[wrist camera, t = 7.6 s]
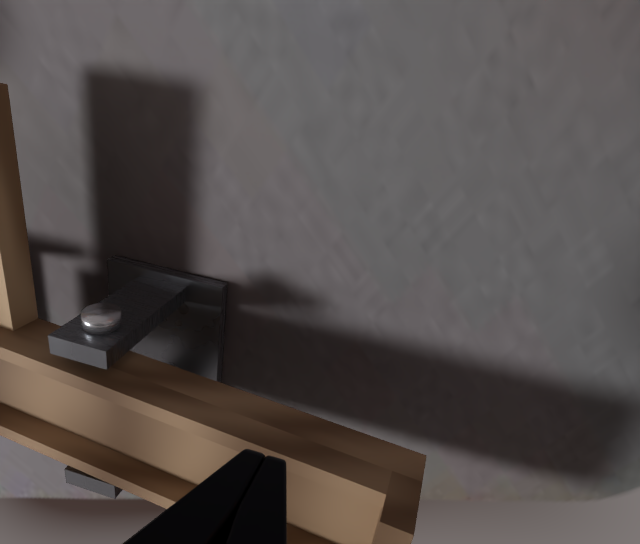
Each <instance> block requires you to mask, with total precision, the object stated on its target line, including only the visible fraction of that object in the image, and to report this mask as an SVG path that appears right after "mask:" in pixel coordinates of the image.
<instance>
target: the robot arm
mask: <svg viewBox="0 0 640 544" xmlns="http://www.w3.org/2000/svg"><path fill="white" fill-rule="evenodd" d="M123 544H287V475H286V461H285V460H283V459H280V458H277V457H274V456H270V455H268V456H266V457H265V455H264V454H263V453H260V452H257V451H254V450H250V449H244V450H243V451H241V452H240V453H239V454H237V455H236V456H235V457H233V458H232V459H231V460H230V461H228V462H227V463H226V464H224V465H223V466H222V467H221V468H219V469H218V470H217V471H215V472H214V473H213V474H212V475H210V476H209V477H208V478H206V479H205V480H204V481H203V482H201V483H200V484H199V485H197V486H196V487H195V488H194V489H192V490H191V491H190V492H188V493H187V494H186V495H185V496H183V497H182V498H181V499H179V500H178V501H177V502H176V503H174V504H173V505H172V506H170V507H169V508H168V509H167V510H165V511H164V512H163V513H161V514H160V515H159V516H158V517H157V518H155V519H154V520H153V521H151V522H150V523H149V524H147V525H146V526H145V527H143V528H142V529H141V530H140V531H138V532H137V533H136V534H134V535H133V536H132V537H131V538H129V539H128V540H127V541H126V542H124V543H123Z"/></svg>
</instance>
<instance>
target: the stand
mask: <svg viewBox="0 0 640 544" xmlns="http://www.w3.org/2000/svg"><path fill="white" fill-rule="evenodd" d="M107 267H108V285H109V296H108V297H106V298H105V299H103V300H102V301H100V302H99V303H96V304H92V305H89V306H87V307H85V308H84V309H83V310H82V311H81V314H80V315H79V316H77V317H75V318H74V319H72V320H71V321H69V322H68V323H66V324H65V325H63V326H62V327H60V328H58V329H57V330H55V331H54V332H52V333H51V334H49V335H48V341H49V349H50V354H54V355H57V356H61V357H64V358H68V359H71V360H75V361H78V362H82V363H85V364H89V365H92V366H95V367H99V368H102V369H106V370H107V369H109V368H110V367H111V366H112V365H113V364H114V363H116V362H117V361H118V360H119V359H120V358H121V357H122V356H124V355H125V354H126V353H127V352H128V351H129V350H130V351H132V352H135V353H138V354H141V355H144V356H147V357H149V358H152V359H155V360H158V361H161V362H163V363H166V364H169V365H172V366H175V367H178V368H180V369H183V370H186V371H189V372H192V373H195V374H197V375H200V376H203V377H206V378H209V379H212V380H214V381H217V382H220V383H221V375H222V359H223V344H224V328H225V313H226V298H227V283H226V282H222V281H218V280H214V279H210V278H206V277H202V276H198V275H193V274H189V273H185V272H181V271H177V270H173V269H169V268H165V267H161V266H157V265H152V264H148V263H144V262H140V261H136V260H132V259H128V258H124V257H120V256H113V257H111V258H109V259H107ZM65 477H66V483H69V484H72V485H75V486H78V487H81V488H84V489H87V490H90V491H93V492H96V493H99V494H102V495H105V496H108V497H111V498H114V499H116V497H117V496H118V495H119V493H120V492H121V491H122V490H123V489H121V488H118V487H116V486H114V485H112V484H109V483H107V482H105V481H103V480H100V479H98V478H96V477H94V476H91V475H89V474H87V473H85V472H82V471H80V470H78V469H76V468H73V467H71V466H69V465H68V466H67V467H66V468H65Z"/></svg>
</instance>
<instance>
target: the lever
mask: <svg viewBox="0 0 640 544" xmlns="http://www.w3.org/2000/svg"><path fill="white" fill-rule="evenodd" d="M60 327H62V326H59V325H56V324H53V323H50V322H48V321H45V320H42V319H39V318H38V312H37V305H36V297H35V289H34V282H33V274H32V267H31V259H30V252H29V244H28V236H27V229H26V221H25V214H24V206H23V198H22V191H21V183H20V176H19V168H18V161H17V153H16V145H15V138H14V130H13V123H12V115H11V108H10V100H9V92H8V85H7V84H3V83H0V435H1V436H3V437H5V438H8V439H10V440H12V441H14V442H17V443H19V444H21V445H24V446H26V447H28V448H30V449H33V450H35V451H37V452H39V453H42V454H44V455H46V456H48V457H51V458H53V459H55V460H57V461H60V462H62V463H64V464H66V465H69V466H71V467H73V468H76V469H78V470H80V471H82V472H85V473H87V474H89V475H91V476H94V477H96V478H98V479H100V480H103V481H105V482H107V483H109V484H112V485H114V486H116V487H118V488H121V489H123V490H125V491H127V492H130V493H132V494H134V495H137V496H139V497H141V498H143V499H146V500H148V501H150V502H153V503H155V504H157V505H159V506H161V507H164V508H166V509H168V508H169V507H170V506H172V505H173V504H174V503H176V502H177V501H178V500H179V499H181V498H182V497H183V496H185V495H186V494H187V493H188V492H190V491H191V490H192V489H194V488H195V487H196V486H197V485H199V484H200V483H201V482H203V481H204V480H205V479H206V478H208V477H209V476H210V475H212V474H213V473H214V472H215V471H217V470H218V469H219V468H221V467H222V466H223V465H224V464H226V463H227V462H228V461H230V460H231V459H232V458H233V457H235V456H236V455H237V454H239V453H240V452H241V451H243V450H244V449H250V450H254V451H257V452H260V453H263V454H264V455H265V457H266V456H268V455H270V456H274V457H277V458H280V459H283V460H285V461H286V475H287V544H411V541H412V539H413V536H414V531H415V524H416V518H417V512H418V506H419V499H420V493H421V487H422V481H423V474H424V468H425V462H426V455H423V454H421V453H418V452H415V451H412V450H409V449H406V448H404V447H401V446H398V445H395V444H392V443H389V442H387V441H384V440H381V439H378V438H375V437H373V436H370V435H367V434H364V433H361V432H358V431H356V430H353V429H350V428H347V427H344V426H341V425H339V424H336V423H333V422H330V421H327V420H324V419H322V418H319V417H316V416H313V415H310V414H308V413H305V412H302V411H299V410H296V409H293V408H291V407H288V406H285V405H282V404H279V403H276V402H274V401H271V400H268V399H265V398H262V397H260V396H257V395H254V394H251V393H248V392H245V391H243V390H240V389H237V388H234V387H231V386H228V385H226V384H223V383H220V382H217V381H214V380H212V379H209V378H206V377H203V376H200V375H197V374H195V373H192V372H189V371H186V370H183V369H180V368H178V367H175V366H172V365H169V364H166V363H163V362H161V361H158V360H155V359H152V358H149V357H147V356H144V355H141V354H138V353H135V352H132V351H130V350H129V351H128V352H127V353H126V354H125V355H124V356H122V357H121V358H120V359H119V360H118V361H117V362H116V363H114V364H113V365H112V366H111V367H110V368H109V369H107V370H106V369H102V368H99V367H95V366H92V365H89V364H85V363H82V362H78V361H75V360H71V359H68V358H64V357H61V356H57V355H54V354H50V349H49V341H48V335H49V334H51V333H52V332H54V331H55V330H57V329H58V328H60Z"/></svg>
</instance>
